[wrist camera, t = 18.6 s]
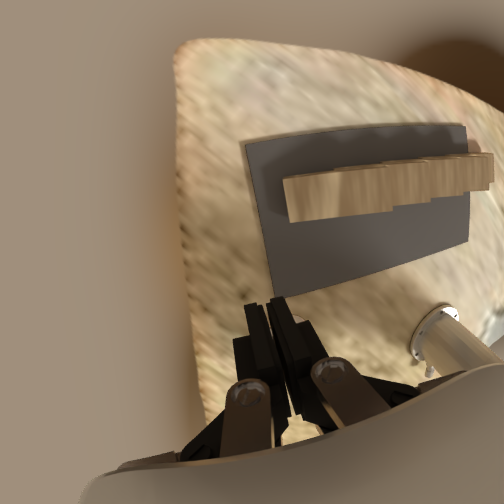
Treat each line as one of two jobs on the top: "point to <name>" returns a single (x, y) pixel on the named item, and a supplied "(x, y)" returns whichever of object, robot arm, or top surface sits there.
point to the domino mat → (356, 226)
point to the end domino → (490, 159)
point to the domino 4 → (472, 172)
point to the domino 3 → (443, 176)
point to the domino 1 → (338, 193)
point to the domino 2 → (406, 181)
